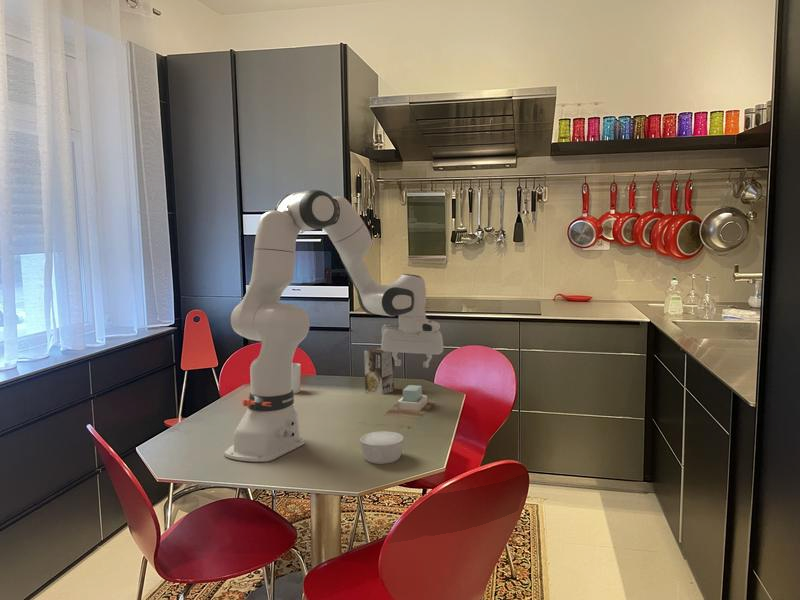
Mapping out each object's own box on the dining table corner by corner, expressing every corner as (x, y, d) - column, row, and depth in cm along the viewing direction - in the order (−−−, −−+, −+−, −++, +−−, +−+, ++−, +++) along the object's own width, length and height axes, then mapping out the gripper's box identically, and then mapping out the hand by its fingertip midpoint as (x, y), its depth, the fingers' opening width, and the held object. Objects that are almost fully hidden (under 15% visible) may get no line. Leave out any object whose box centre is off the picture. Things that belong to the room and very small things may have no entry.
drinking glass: (303, 389, 222) (302, 363, 221) (298, 394, 215) (297, 367, 214) (285, 389, 222) (285, 362, 221) (280, 393, 216) (279, 366, 215)
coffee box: (394, 394, 214) (394, 349, 213) (382, 397, 210) (381, 352, 208) (376, 389, 220) (376, 346, 219) (364, 393, 216) (363, 349, 214)
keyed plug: (421, 403, 197) (421, 385, 197) (416, 409, 191) (416, 391, 190) (408, 402, 199) (408, 384, 198) (402, 408, 192) (402, 390, 191)
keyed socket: (419, 411, 189) (419, 403, 189) (397, 409, 191) (397, 401, 191) (427, 402, 198) (427, 395, 198) (405, 401, 201) (405, 393, 200)
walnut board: (420, 421, 182) (420, 418, 182) (383, 418, 185) (383, 414, 185) (436, 404, 201) (436, 400, 201) (402, 401, 204) (402, 398, 204)
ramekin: (351, 456, 154) (351, 436, 153) (386, 447, 161) (386, 428, 160) (376, 469, 145) (376, 448, 144) (412, 458, 152) (412, 438, 151)
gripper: (378, 324, 192) (378, 366, 193) (440, 326, 186) (439, 370, 187) (384, 321, 198) (384, 362, 199) (444, 324, 192) (444, 366, 193)
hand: (411, 366), depth 193 cm, fingers open, 8 cm apart
